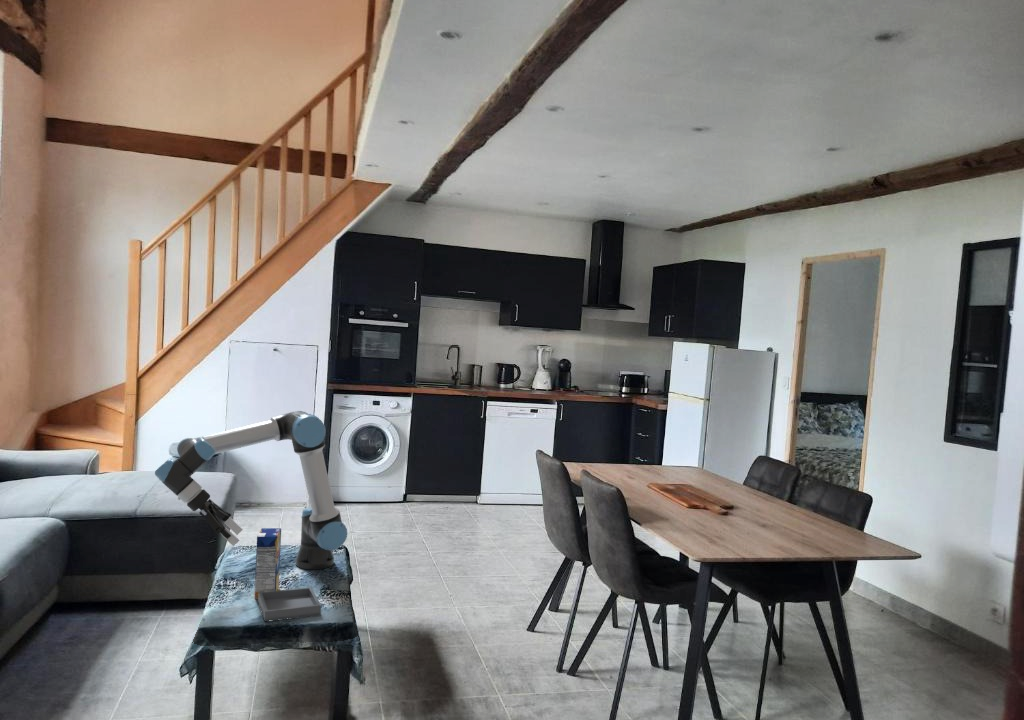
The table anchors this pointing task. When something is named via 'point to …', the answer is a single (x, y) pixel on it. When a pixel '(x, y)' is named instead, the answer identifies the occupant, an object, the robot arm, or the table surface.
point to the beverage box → (267, 560)
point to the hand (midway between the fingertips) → (238, 537)
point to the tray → (289, 603)
